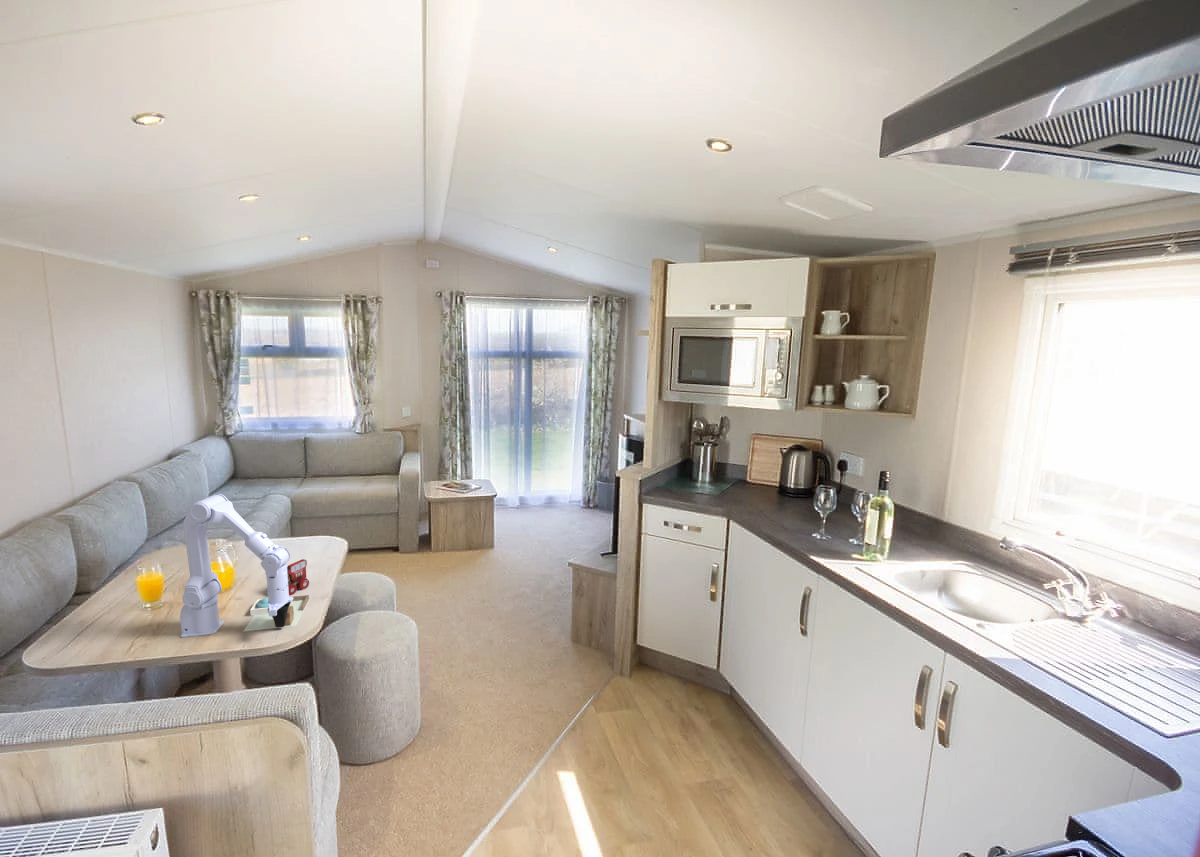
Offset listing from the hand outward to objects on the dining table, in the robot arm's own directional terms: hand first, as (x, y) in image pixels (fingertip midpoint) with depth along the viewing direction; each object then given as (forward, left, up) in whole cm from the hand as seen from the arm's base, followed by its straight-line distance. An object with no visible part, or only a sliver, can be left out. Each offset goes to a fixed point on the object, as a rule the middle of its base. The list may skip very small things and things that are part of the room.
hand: (280, 626), depth 176 cm
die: (0, +4, -1) cm, 4 cm away
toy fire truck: (-4, +30, -2) cm, 30 cm away
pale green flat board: (-3, +11, -2) cm, 12 cm away
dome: (-8, +15, 0) cm, 17 cm away
